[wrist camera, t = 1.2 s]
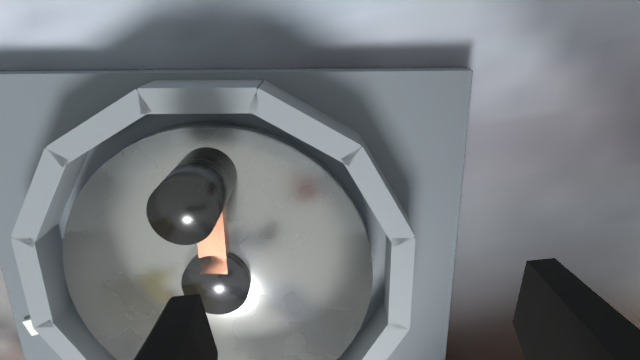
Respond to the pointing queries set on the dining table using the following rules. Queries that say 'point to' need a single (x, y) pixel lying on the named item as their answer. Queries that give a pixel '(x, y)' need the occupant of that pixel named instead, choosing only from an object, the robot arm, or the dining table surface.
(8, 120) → the grey shallow dish
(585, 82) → the dining table surface
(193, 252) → the dial
